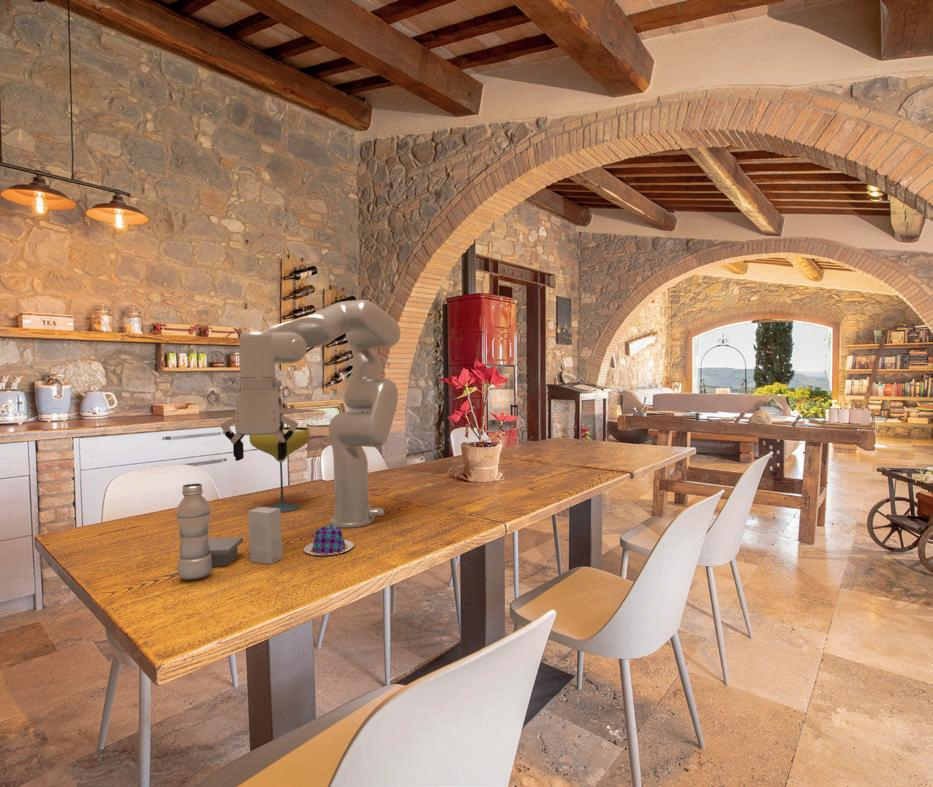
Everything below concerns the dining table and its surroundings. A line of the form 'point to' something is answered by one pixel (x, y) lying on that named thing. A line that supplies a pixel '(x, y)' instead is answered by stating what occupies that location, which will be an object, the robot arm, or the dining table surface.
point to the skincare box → (265, 535)
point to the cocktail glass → (294, 443)
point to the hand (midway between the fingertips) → (260, 459)
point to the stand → (223, 550)
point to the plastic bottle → (194, 533)
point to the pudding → (328, 541)
